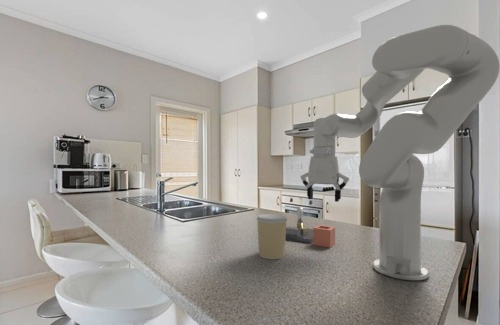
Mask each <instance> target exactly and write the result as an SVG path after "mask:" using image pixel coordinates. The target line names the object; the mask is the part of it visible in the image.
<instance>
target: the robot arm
mask: <svg viewBox="0 0 500 325" xmlns="http://www.w3.org/2000/svg"><path fill="white" fill-rule="evenodd" d="M371 65H372V67H373V69H374V71H376V72H375V73H373V75H372V76H371V77H370V78H368V80H367V81H366V82H364V84H363V85H362V87H361V94H362V96H363V97H364V98H365V100H366V103H365V105H364V107H363V108H362V109H361V110H359V112H357V114H355V115H351V114H350V115H349V114H341V113H332V114H329V115H328V116H325V117H319V118H316V119H315V120H314V123H313V148H312V149H310V150H309V153H310V154H312V156H310V161H309V165H308V172H306V173H304V174H302V175H300V178H301V179H300V180H301V182H302V184H303V185H304V186H305V188H306V189H307V190H306V191H307V192H306V195H307V199H308V200H311V199H312V200H313V198H314V188H313V186H314V185H332V186H333V187H334V188H335V190H334V202H336V203H337V202H340V200H341V196H342V193H341V192H342V189H343V188H344V187H346V186H347V184H348V182H349V181H350V177H349V176H347V175H344V174H343V173H340V171H339V169H340V168H339V163H338V161H339V160H338V156H336V137H338V138H349V139H355V138H359V137H360V136H362V135H364V134H365V133H367V131H368V130H370V129H372V127H374V126H375V125H376V123H377V122H378V121H379V119H380V117H381V115H382V114H383V111H384V107H385V106H386V104H387V103H388V102H390V101H391V100H392V99H393V98H394V97H396V95H398V94H399V93H400V92H402V90H404V89H405V88H406V87H407V86H409V84H410V83H412V82H413V81H414V80H415V79H416V78H417V77H419V76H420V75H421V74H422V73H423V72H424V70H426V69H431V70H433V71H437V72H439V73H443V74H445V75H446V76H448V80H447V81H446V82H445V83H444V84H442V85H441V86H439V87H438V88H437V89H436V91H435V92H433V94H432V95H431V96H430V98H429V99H428V100H427V102H426V103H425V104H424V106H423V107H422V108H421V109H420V110H419V111H418V112H416V111H405V112H403V111H402V112H400V113H397V114H395V115H393V116H392V117H391V118H390V119H388V120H387V121H386V122H385V123H384V124H383V126H382V128H381V129H380V130H379V132H378V134H377V135H376V137H374V139H373V141H372V142H371V143H370V145H369V147H368V148H367V149H366V151H365V153H364V154H363V157H362V158H361V160H360V162H359V167H358V174H359V177H360V179H361V181H363V183H364V184H365V185H367V186H369V187H372V188H376V189H382V190H381V192H380V196H379V202H378V204H379V207H378V208H379V209H378V210H379V213H378V214H379V216H378V220H379V222H378V223H379V225H378V227H379V228H378V230H379V231H378V232H379V233H378V234H379V238H378V239H379V243H378V244H379V246H378V247H379V248H378V249H379V257H378V259H375V260H373V261H372V264H373V265H372V267H373V268H374V269H375V270H374V271H376V272H378V273H380V274H382V275H384V276H388V277H391V278H393V279H398V280H404V281H422V280H426V279H427V278H428V277H429V271H428V269H426V267H424V266H422V247H421V246H422V238H421V236H422V232H421V231H422V230H421V229H422V228H421V226H422V225H421V223H422V222H421V221H422V220H421V217H422V216H421V214H422V213H421V209H422V208H421V202H422V201H421V200H422V192H423V191H422V189H423V185H424V178H425V168H424V165H423V162H422V161H421V160H420V158H419V157H417V156H416V155H428V154H434V153H436V152H438V151H439V150H441V149H442V148H443V146H444V145H445V144H447V142H448V141H449V139H450V138H451V137H452V136H453V134H455V132H456V131H457V130H458V128H459V127H460V126H461V125H462V124H463V123H464V122H465V121H466V119H467V118H468V116H469V115H470V114H471V113H472V111H473V110H474V109H475V108H476V107H477V106H478V104H479V103H480V102H481V101H482V100H483V99H484V98H485V97H486V96H487V94H488V93H489V92H490V90H491V89H492V87H494V85H495V83H496V81H497V79H498V76H499V73H500V60H499V56H498V55H497V53H496V51H495V50H494V49H493V47H491V46H490V45H489V43H487V42H486V41H484V40H483V39H482V38H480V37H478V36H477V35H475V34H474V33H473V34H472V33H470V32H468V31H467V30H465V29H463V28H461V27H459V26H457V25H453V24H440V25H439V24H438V25H435V26H430V27H428V28H423V29H419V30H415V31H411V32H408V33H405V34H400V35H397V36H393V37H391V38H389V39H387V40H386V41H384V42H382V44H380V45H379V46H378V47H377V48H376V50H375V51H374V53H373V56H372V60H371ZM307 179H308V181H307ZM340 179H342V180H343V181H342V182H341V183H339V181H340Z"/></svg>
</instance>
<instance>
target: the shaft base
mask: <svg viewBox="0 0 500 325" xmlns="http://www.w3.org/2000/svg"><path fill="white" fill-rule="evenodd" d="M286 240H287V241H291V242H292V241H294V242H299V243H304V244H313V228H309V227H308V226H304V208H303V207H301V206H298V207H296V225H294V226H286V237H285V241H286Z"/></svg>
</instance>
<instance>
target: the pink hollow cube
mask: <svg viewBox="0 0 500 325" xmlns="http://www.w3.org/2000/svg"><path fill="white" fill-rule="evenodd" d="M312 229H313V242H312V245H313V246H318V247H323V248H329V249H330V248H332V247H333V246H334V245H335V244H336V227H335V226H329V225H323V224H318V225H316V226H314V227H312Z"/></svg>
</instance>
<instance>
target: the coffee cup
mask: <svg viewBox="0 0 500 325" xmlns="http://www.w3.org/2000/svg"><path fill="white" fill-rule="evenodd" d="M256 221H257V239H258V241H257V243H258V253H259V254H258V255H259V257H261V258H263V259H266V260H279V259H282V258H284V257H285V248H286V247H285V246H286V239H285V237H286V228H287V222H288V219H287V216H286V215H284V214H277V213H261V214H259V215H258V216H257V218H256Z"/></svg>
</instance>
